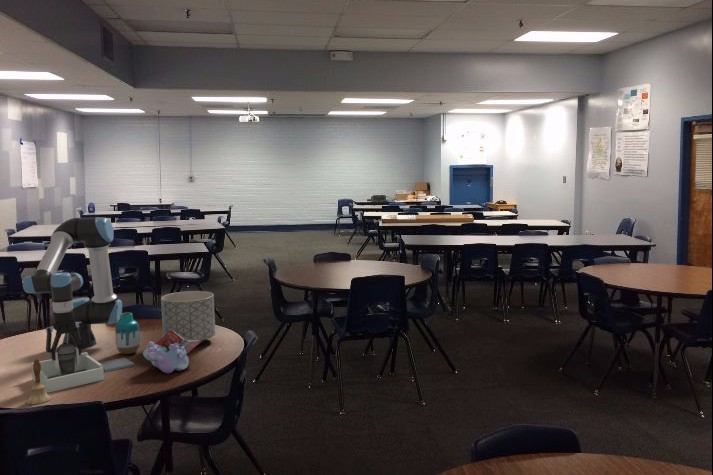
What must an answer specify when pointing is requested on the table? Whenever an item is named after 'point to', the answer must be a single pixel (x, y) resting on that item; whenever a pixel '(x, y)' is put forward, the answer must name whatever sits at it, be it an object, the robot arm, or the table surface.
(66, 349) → the beverage cup
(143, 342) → the table surface
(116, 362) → the slate tile
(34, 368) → the hand bell
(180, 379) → the table surface
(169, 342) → the pastel lumpy cloud blob
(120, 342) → the vase
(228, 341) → the table surface
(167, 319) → the planter
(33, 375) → the frame
